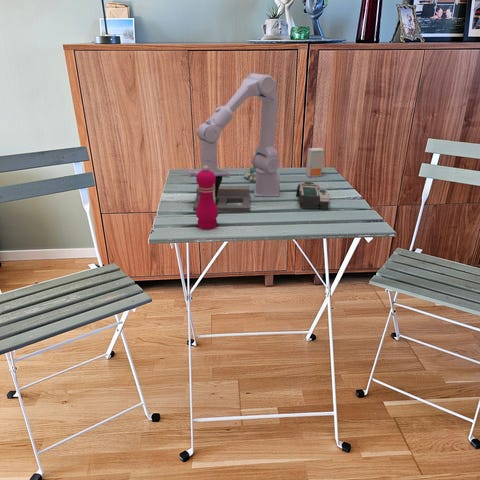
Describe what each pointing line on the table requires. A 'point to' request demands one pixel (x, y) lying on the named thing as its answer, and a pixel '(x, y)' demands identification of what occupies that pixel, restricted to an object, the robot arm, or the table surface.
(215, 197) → the plug
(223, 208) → the socket panel
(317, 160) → the skincare box
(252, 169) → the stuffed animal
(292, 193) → the table surface
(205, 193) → the pepper mill
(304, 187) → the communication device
